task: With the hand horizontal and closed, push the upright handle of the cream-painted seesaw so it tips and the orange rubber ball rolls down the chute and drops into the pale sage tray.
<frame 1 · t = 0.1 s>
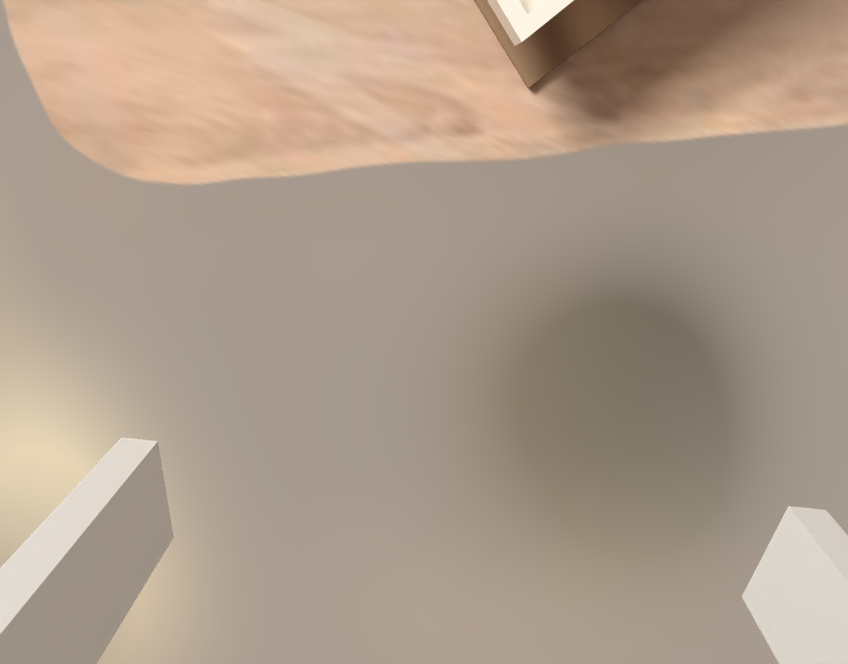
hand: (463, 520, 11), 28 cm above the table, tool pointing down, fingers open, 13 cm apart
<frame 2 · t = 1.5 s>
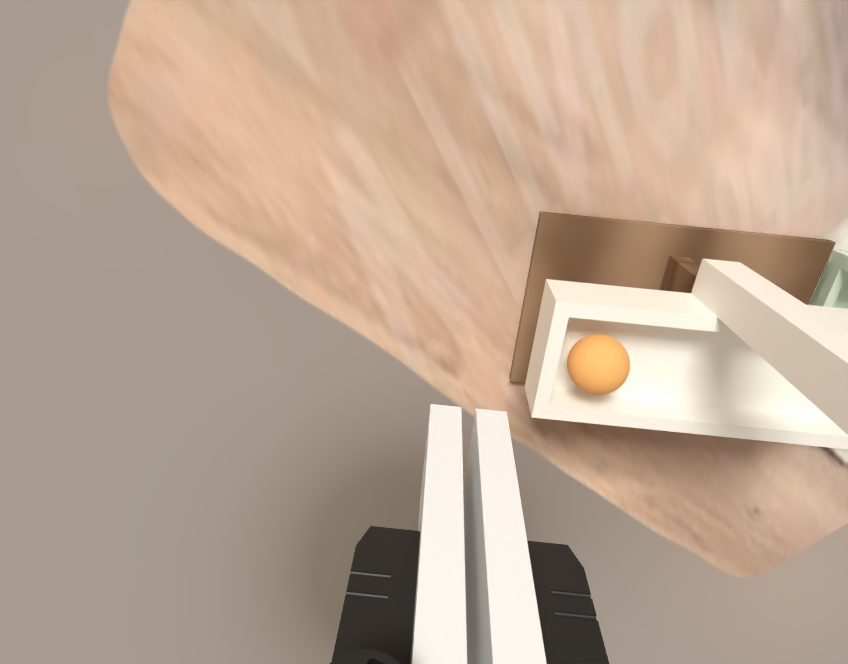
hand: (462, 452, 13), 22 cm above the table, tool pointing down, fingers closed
seesaw: (788, 430, 22), point 15 cm above the table, hinge at 0.0°, touching ball
ball: (597, 364, 28), point 8 cm above the table, touching seesaw
stand: (657, 313, 35), on the table
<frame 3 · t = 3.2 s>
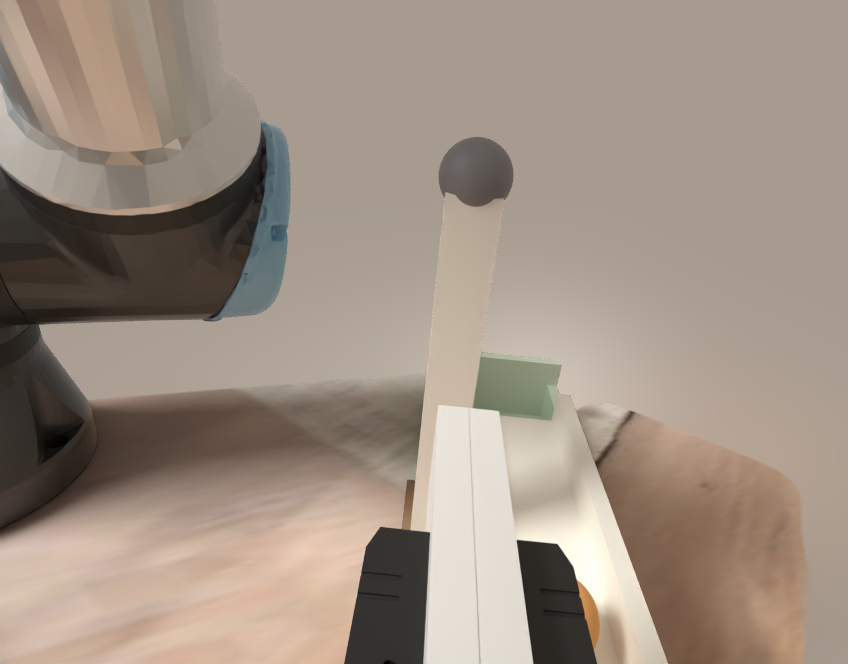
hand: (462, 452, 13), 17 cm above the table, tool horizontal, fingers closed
seesaw: (531, 379, 22), point 15 cm above the table, hinge at 0.0°, touching ball
ball: (553, 617, 19), point 8 cm above the table, touching seesaw
tray: (488, 445, 41), on the table
stand: (504, 615, 28), on the table
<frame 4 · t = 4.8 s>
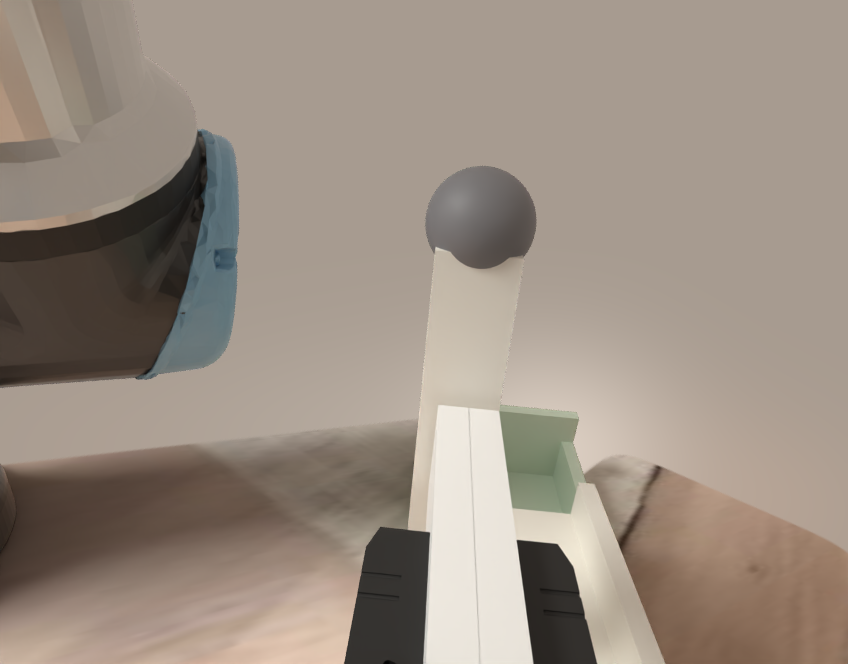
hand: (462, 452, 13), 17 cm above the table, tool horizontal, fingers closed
seesaw: (558, 502, 16), point 15 cm above the table, hinge at 3.1°, touching ball, gripper
tray: (492, 517, 35), on the table
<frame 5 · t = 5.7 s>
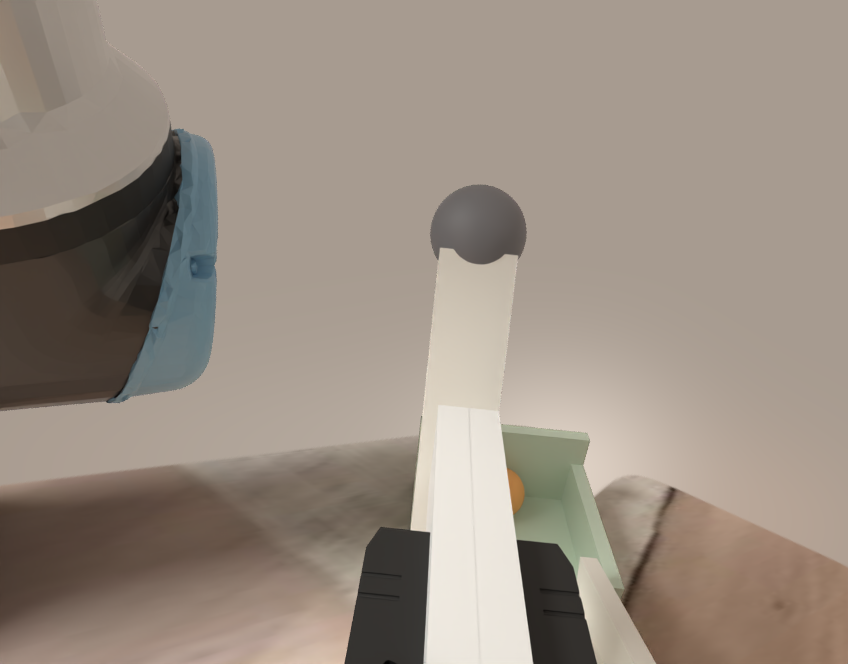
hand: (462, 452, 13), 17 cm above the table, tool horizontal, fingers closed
seesaw: (562, 519, 15), point 14 cm above the table, hinge at 18.9°, touching gripper
ball: (499, 492, 34), point 2 cm above the table, tilted 154°, touching tray
tray: (497, 547, 32), on the table
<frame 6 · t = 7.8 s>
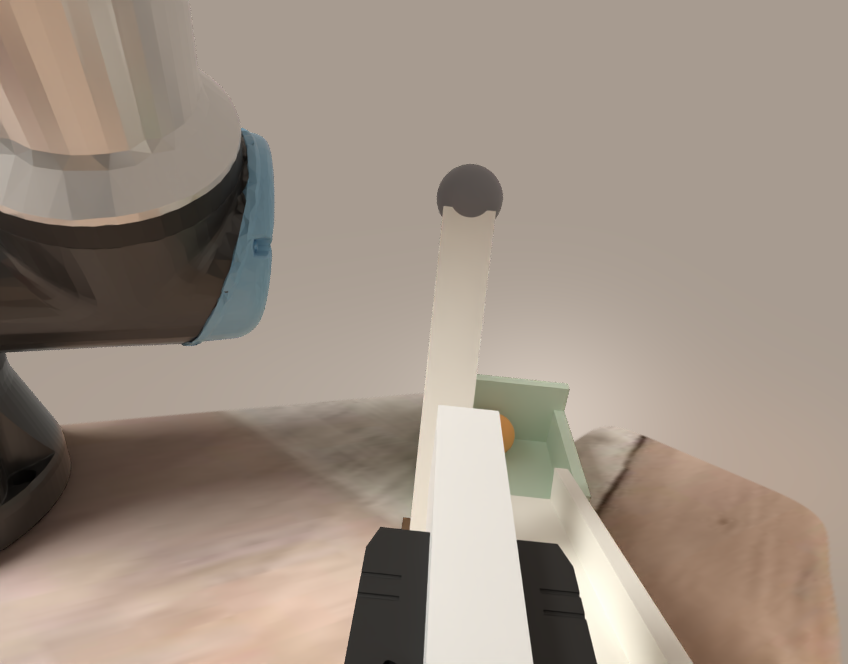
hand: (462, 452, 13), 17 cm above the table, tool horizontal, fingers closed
seesaw: (528, 400, 22), point 14 cm above the table, hinge at 18.9°
ball: (493, 434, 40), point 2 cm above the table, tilted 144°, touching tray
tray: (491, 475, 39), on the table
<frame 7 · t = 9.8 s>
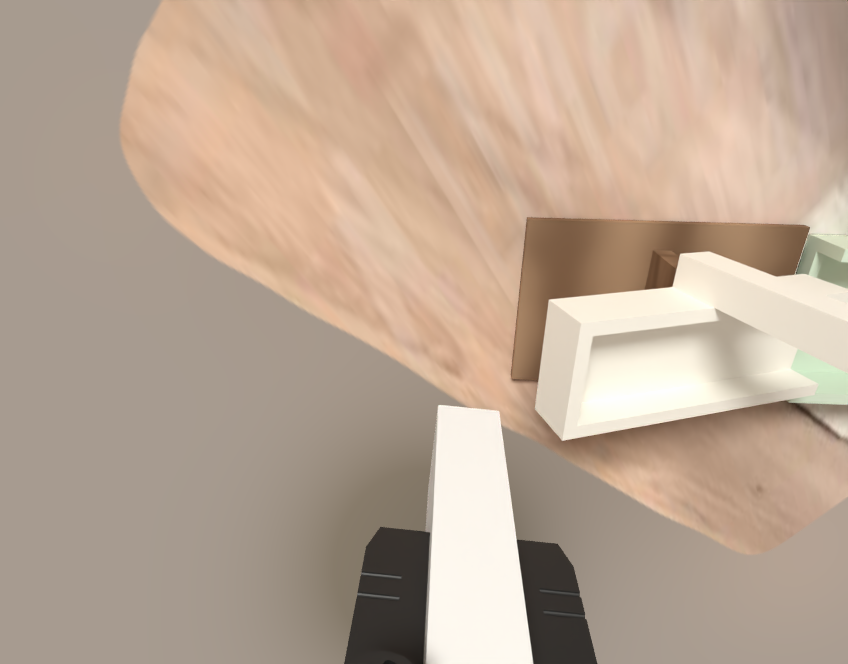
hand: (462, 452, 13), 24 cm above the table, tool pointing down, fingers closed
seesaw: (820, 403, 24), point 14 cm above the table, hinge at 18.9°
stand: (646, 305, 37), on the table
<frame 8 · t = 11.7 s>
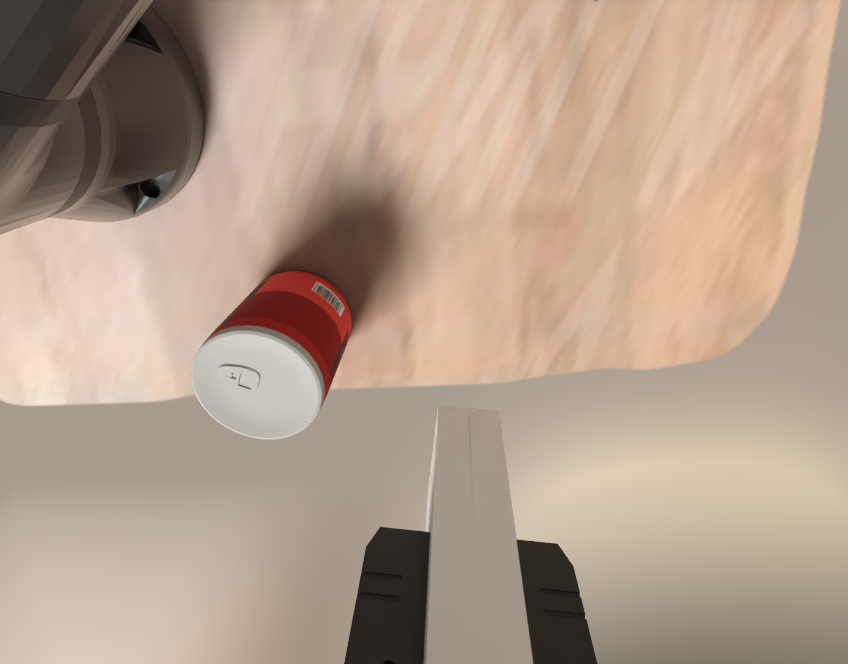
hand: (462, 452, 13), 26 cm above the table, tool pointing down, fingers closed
canned food: (304, 313, 41), on the table
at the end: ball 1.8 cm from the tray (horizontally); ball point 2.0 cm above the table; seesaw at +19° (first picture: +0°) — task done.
